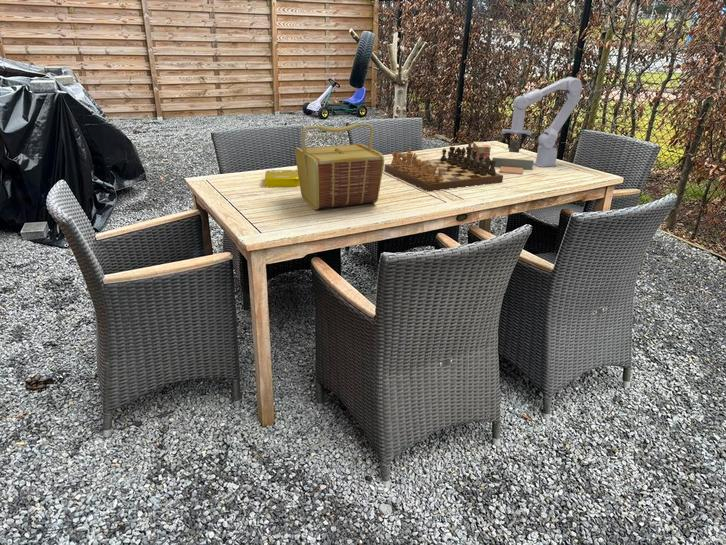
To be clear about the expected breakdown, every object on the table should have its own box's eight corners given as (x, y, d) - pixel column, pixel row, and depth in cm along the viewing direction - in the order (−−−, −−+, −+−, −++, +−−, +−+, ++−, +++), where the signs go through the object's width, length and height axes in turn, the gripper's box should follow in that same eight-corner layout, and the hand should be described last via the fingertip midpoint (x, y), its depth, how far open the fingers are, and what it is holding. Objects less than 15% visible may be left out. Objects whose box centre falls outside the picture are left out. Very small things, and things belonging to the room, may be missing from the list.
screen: (532, 169, 259) (533, 160, 257) (532, 169, 258) (533, 161, 256) (491, 166, 264) (492, 157, 262) (491, 166, 263) (492, 157, 261)
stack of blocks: (467, 161, 273) (469, 138, 268) (478, 161, 273) (481, 138, 268) (475, 171, 254) (478, 146, 249) (488, 171, 254) (491, 146, 249)
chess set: (427, 192, 220) (430, 158, 214) (384, 171, 253) (385, 141, 246) (502, 183, 236) (506, 151, 229) (452, 164, 268) (455, 135, 262)
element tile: (265, 188, 222) (264, 177, 220) (266, 179, 236) (265, 169, 234) (299, 187, 224) (299, 176, 222) (299, 178, 238) (298, 168, 236)
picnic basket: (314, 215, 189) (311, 132, 176) (294, 196, 210) (290, 121, 197) (385, 207, 199) (388, 128, 187) (359, 189, 221) (360, 117, 208)
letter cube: (519, 150, 267) (520, 140, 265) (518, 152, 263) (520, 142, 261) (509, 150, 268) (510, 140, 266) (508, 152, 264) (510, 141, 262)
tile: (522, 169, 258) (523, 167, 258) (522, 174, 249) (522, 173, 248) (500, 167, 261) (500, 166, 261) (499, 172, 252) (499, 171, 251)
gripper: (502, 121, 258) (499, 148, 263) (533, 123, 254) (528, 150, 260) (503, 119, 264) (500, 146, 269) (533, 121, 260) (529, 148, 266)
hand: (514, 148), depth 265 cm, fingers closed on letter cube, 5 cm apart
